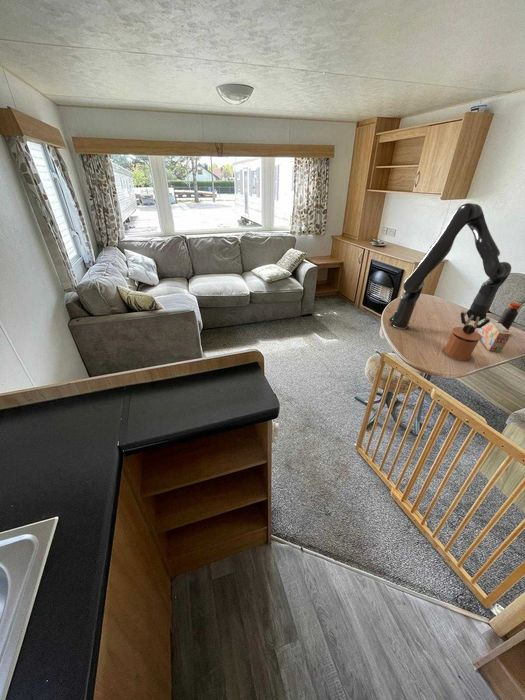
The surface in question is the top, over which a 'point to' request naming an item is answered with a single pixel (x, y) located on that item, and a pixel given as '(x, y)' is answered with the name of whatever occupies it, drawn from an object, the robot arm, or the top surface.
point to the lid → (467, 333)
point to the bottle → (509, 315)
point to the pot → (459, 347)
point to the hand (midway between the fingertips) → (467, 332)
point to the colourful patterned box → (493, 335)
